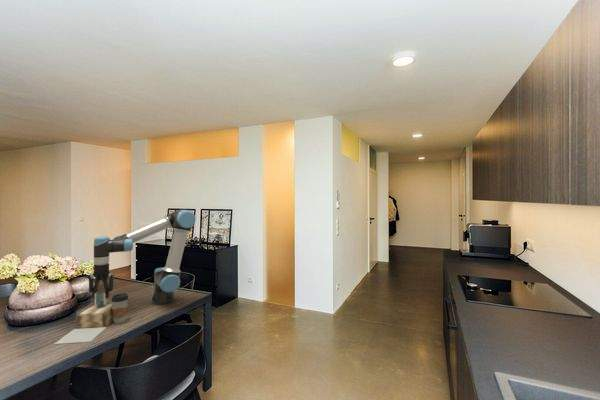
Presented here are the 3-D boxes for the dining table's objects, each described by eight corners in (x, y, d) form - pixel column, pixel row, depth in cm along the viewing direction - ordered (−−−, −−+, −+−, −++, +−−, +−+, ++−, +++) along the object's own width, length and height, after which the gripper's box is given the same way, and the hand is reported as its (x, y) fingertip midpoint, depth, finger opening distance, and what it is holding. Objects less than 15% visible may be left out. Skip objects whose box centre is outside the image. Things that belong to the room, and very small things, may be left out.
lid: (115, 305, 171) (115, 290, 171) (103, 314, 158) (103, 298, 158) (93, 306, 169) (93, 291, 169) (79, 315, 156) (79, 299, 156)
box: (119, 315, 174) (119, 301, 174) (106, 327, 158) (106, 311, 158) (92, 316, 171) (92, 302, 171) (76, 328, 155) (76, 313, 155)
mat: (106, 327, 157) (106, 327, 157) (90, 342, 141) (90, 341, 141) (74, 329, 154) (74, 329, 154) (54, 344, 138) (54, 343, 138)
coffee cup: (110, 325, 160) (110, 298, 160) (112, 320, 167) (112, 294, 167) (127, 323, 163) (127, 296, 163) (128, 317, 171) (128, 292, 171)
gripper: (120, 261, 171) (119, 300, 172) (88, 262, 169) (88, 302, 169) (114, 264, 164) (113, 305, 164) (81, 265, 161) (80, 307, 161)
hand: (101, 303), depth 166 cm, fingers closed on lid, 4 cm apart
